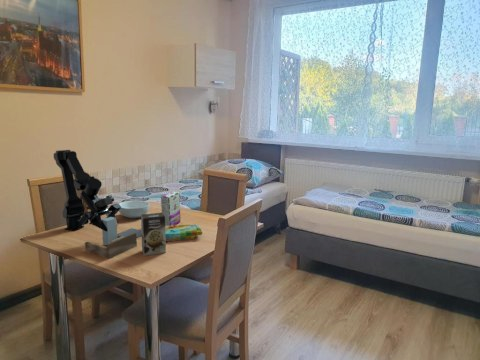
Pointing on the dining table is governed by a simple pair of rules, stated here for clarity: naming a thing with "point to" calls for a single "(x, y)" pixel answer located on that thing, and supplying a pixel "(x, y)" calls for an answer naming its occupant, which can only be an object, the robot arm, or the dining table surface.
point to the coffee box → (153, 233)
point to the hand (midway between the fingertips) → (111, 229)
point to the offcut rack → (113, 246)
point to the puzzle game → (182, 232)
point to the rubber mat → (130, 232)
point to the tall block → (109, 230)
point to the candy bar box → (171, 208)
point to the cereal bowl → (134, 208)
